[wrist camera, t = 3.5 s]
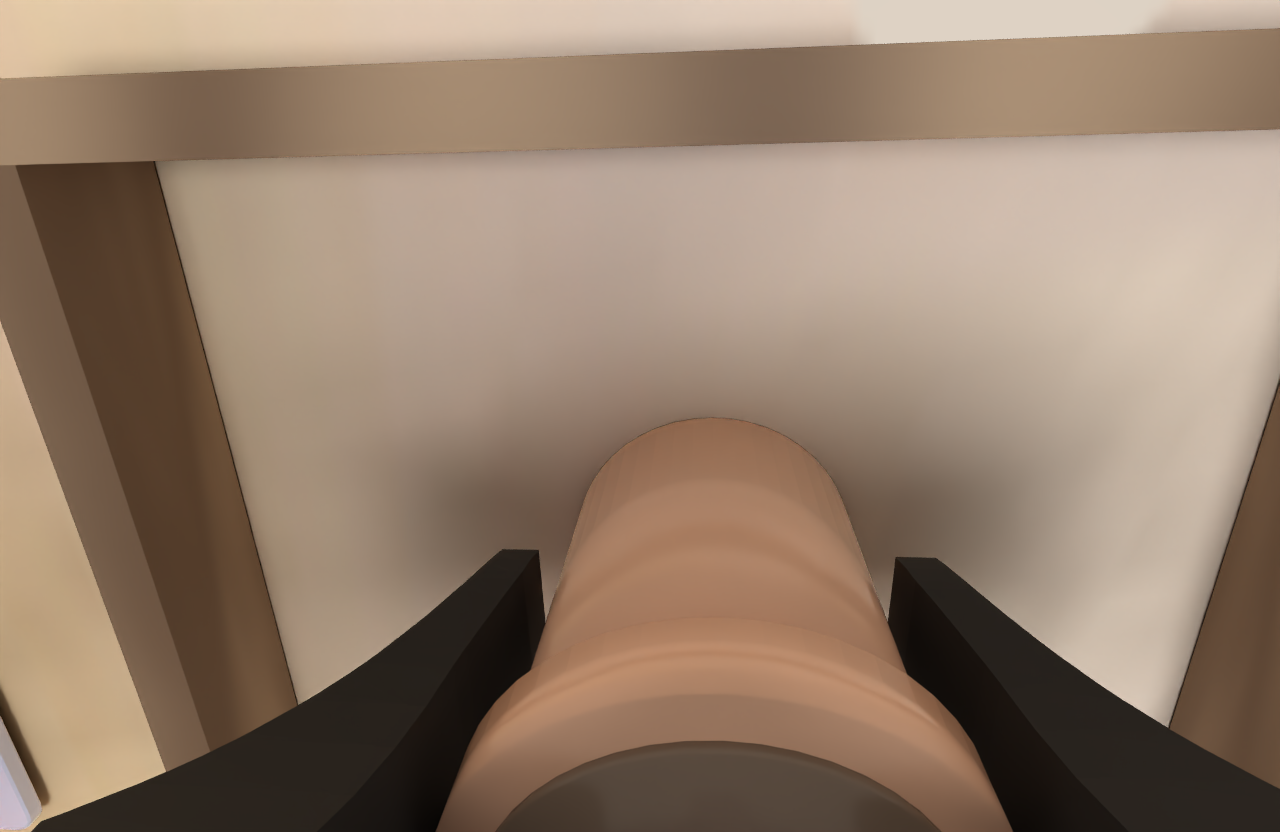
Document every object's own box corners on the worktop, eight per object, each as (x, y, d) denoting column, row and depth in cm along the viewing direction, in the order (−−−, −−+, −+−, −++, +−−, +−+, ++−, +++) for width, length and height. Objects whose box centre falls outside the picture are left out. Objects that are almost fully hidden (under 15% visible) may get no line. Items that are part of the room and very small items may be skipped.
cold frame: (288, 822, 17) (224, 931, 15) (73, 90, 11) (-88, 82, 9) (1173, 870, 16) (1255, 1000, 13) (1471, 39, 10) (1713, 11, 7)
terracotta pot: (567, 661, 15) (458, 1096, 8) (546, 396, 13) (374, 694, 6) (857, 670, 14) (990, 1141, 8) (886, 396, 12) (1106, 721, 6)
